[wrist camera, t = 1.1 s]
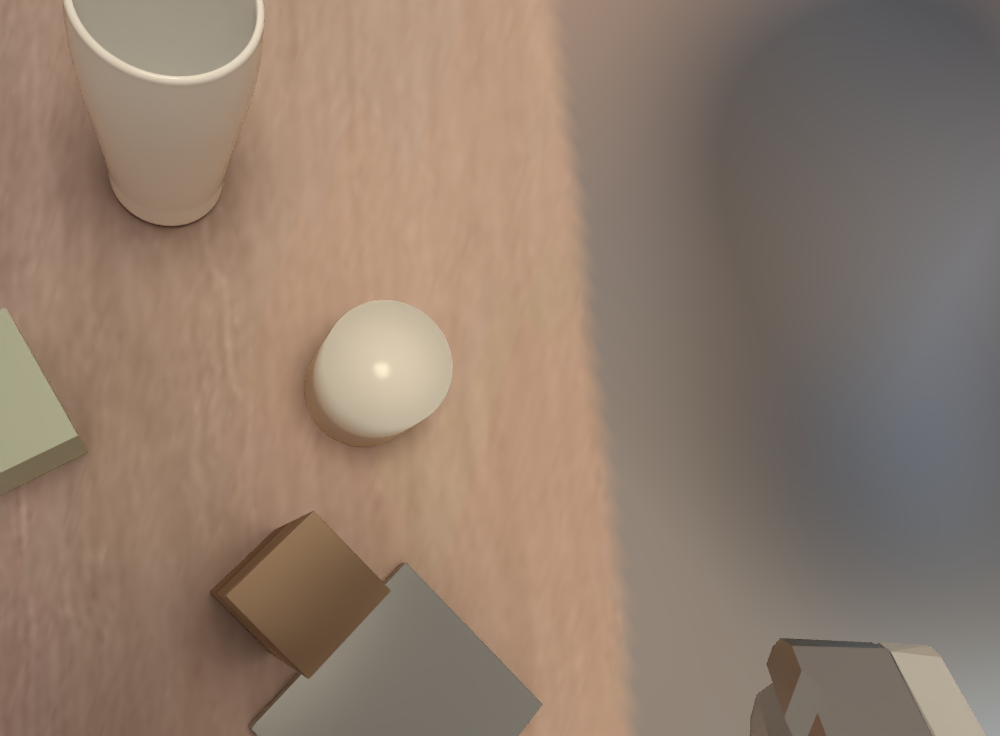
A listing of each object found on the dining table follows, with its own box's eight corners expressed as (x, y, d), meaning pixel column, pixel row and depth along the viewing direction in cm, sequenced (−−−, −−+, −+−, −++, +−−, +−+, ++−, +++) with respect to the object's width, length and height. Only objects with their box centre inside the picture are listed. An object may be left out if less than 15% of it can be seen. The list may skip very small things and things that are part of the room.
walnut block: (210, 591, 39) (226, 595, 29) (274, 529, 41) (313, 510, 30) (270, 652, 40) (309, 679, 29) (332, 588, 41) (391, 590, 31)
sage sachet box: (-69, 378, 37) (-101, 350, 33) (24, 339, 39) (5, 307, 35) (-3, 496, 37) (-26, 485, 33) (88, 452, 39) (77, 435, 35)
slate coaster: (248, 725, 39) (250, 728, 38) (401, 563, 43) (405, 562, 42) (399, 875, 40) (405, 882, 39) (534, 701, 44) (542, 704, 43)
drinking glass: (128, 262, 41) (108, 106, 28) (70, 140, 42) (23, -73, 28) (258, 219, 44) (299, 58, 31) (203, 105, 45) (219, -104, 31)
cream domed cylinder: (295, 340, 44) (313, 306, 38) (407, 328, 46) (439, 294, 40) (314, 455, 43) (336, 437, 37) (427, 437, 45) (463, 417, 40)
